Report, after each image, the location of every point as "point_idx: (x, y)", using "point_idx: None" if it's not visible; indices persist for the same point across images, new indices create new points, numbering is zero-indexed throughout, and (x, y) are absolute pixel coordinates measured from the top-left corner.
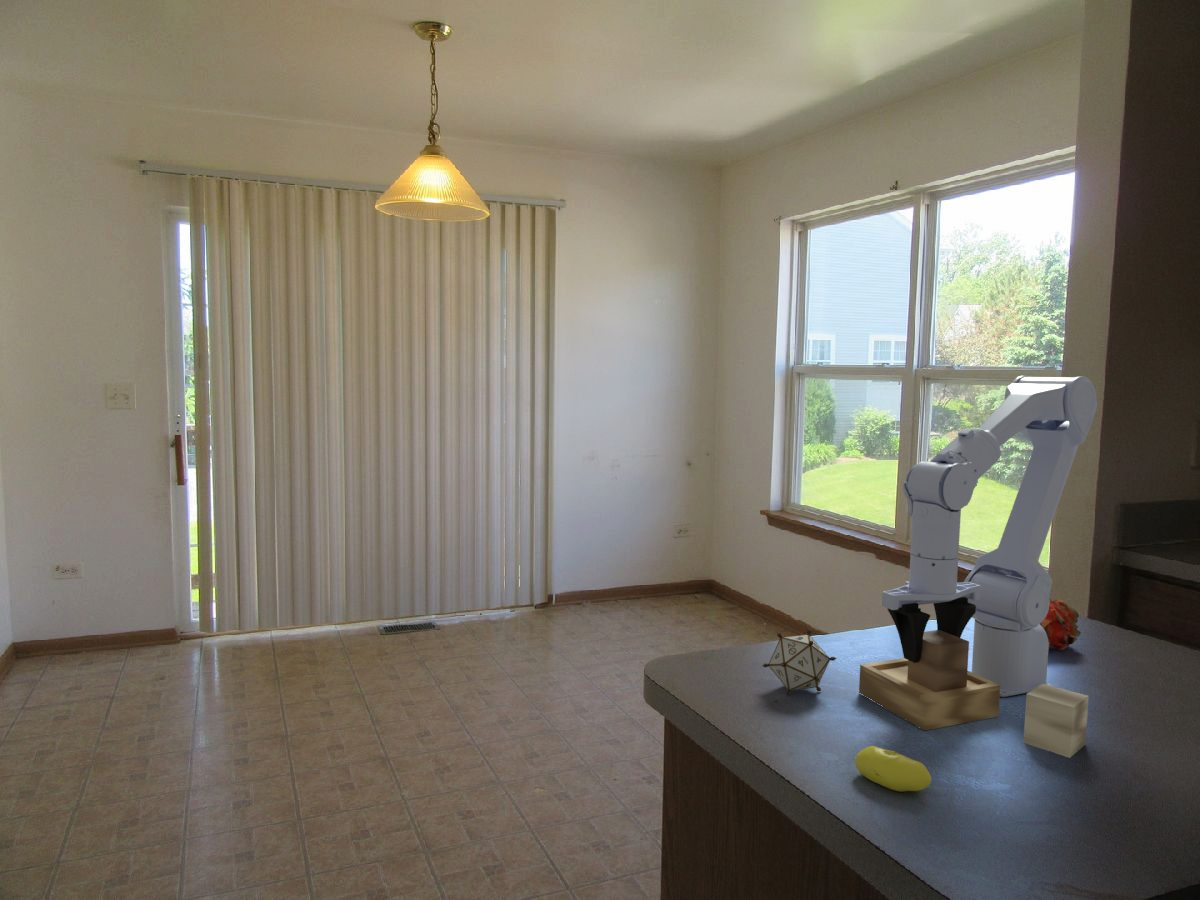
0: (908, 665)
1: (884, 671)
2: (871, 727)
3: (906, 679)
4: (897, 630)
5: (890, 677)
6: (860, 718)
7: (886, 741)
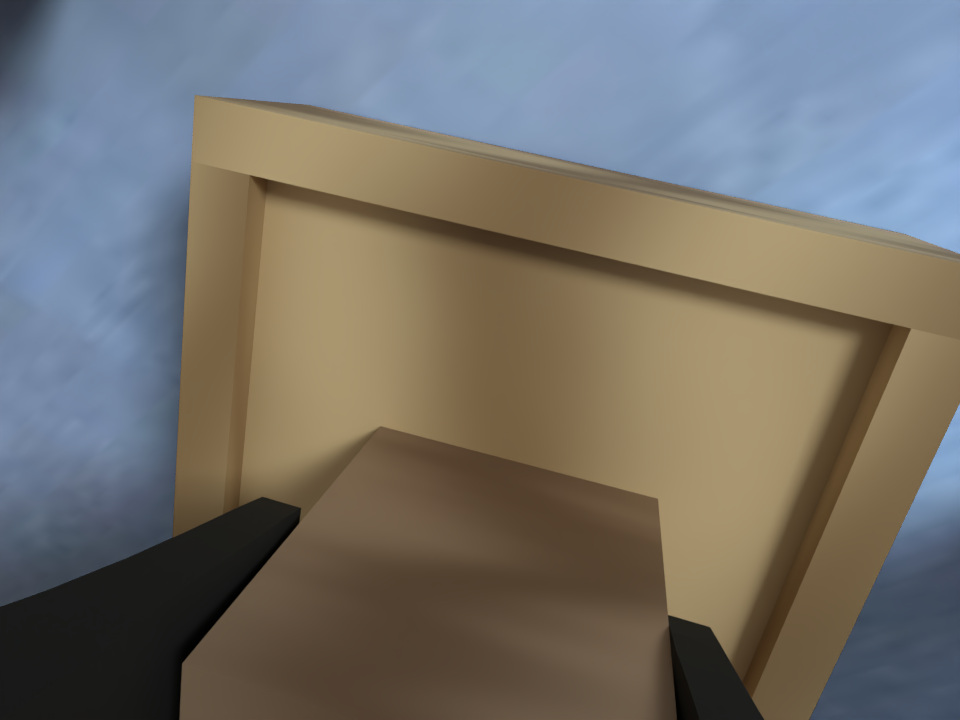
0: (343, 475)
1: (347, 245)
2: (80, 419)
3: (360, 432)
4: (1, 609)
5: (209, 406)
6: (96, 331)
7: (52, 527)
